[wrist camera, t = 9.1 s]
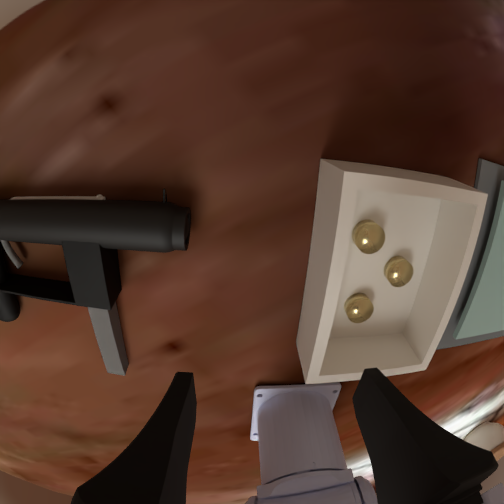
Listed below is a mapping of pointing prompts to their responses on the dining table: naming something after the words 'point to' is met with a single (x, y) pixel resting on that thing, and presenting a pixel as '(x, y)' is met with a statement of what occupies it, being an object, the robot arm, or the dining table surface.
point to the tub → (372, 268)
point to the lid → (487, 285)
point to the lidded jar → (488, 438)
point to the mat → (476, 252)
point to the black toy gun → (87, 254)
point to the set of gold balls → (395, 270)
